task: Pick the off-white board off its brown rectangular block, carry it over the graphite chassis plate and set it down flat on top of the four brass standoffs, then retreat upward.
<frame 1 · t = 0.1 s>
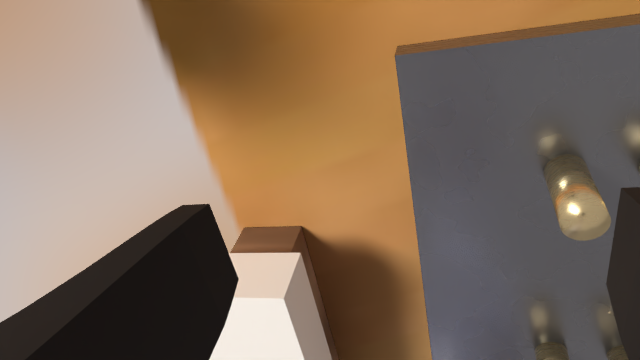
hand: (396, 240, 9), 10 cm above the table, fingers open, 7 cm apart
brown rectangular block: (299, 312, 26), on the table
chassis plate: (591, 256, 20), on the table
board: (284, 358, 23), point 3 cm above the table, touching brown rectangular block
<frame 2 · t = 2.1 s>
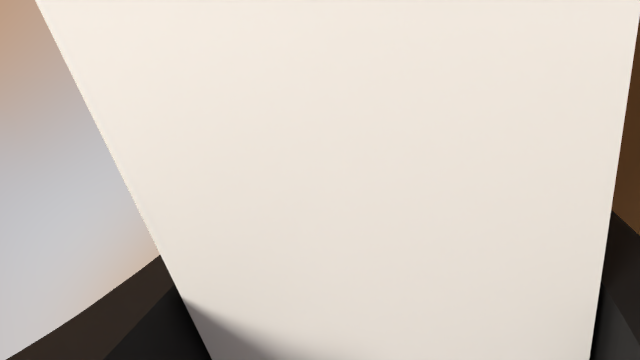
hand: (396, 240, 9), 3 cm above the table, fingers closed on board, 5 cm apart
board: (394, 251, 8), point 3 cm above the table, touching brown rectangular block, gripper
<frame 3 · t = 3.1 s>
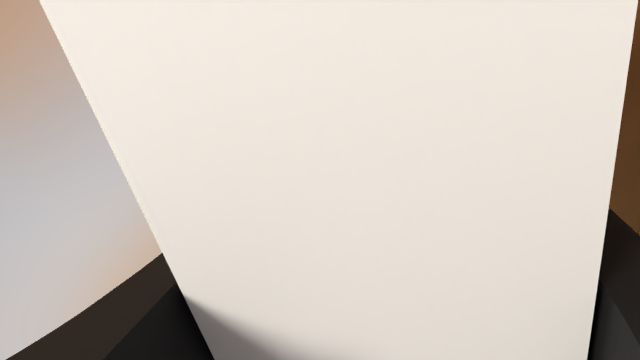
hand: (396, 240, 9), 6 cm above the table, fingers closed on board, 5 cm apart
board: (394, 248, 8), point 6 cm above the table, touching gripper
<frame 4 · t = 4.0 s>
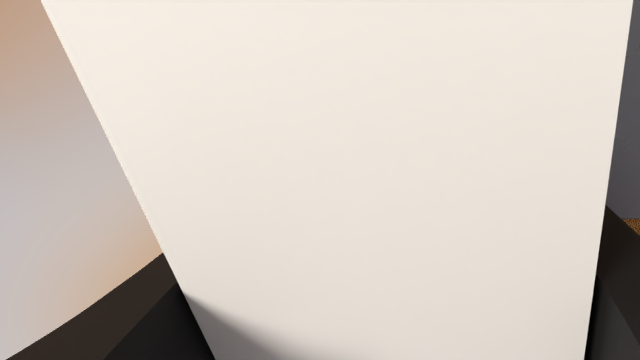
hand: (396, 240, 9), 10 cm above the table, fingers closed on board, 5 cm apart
board: (393, 246, 8), point 10 cm above the table, touching gripper
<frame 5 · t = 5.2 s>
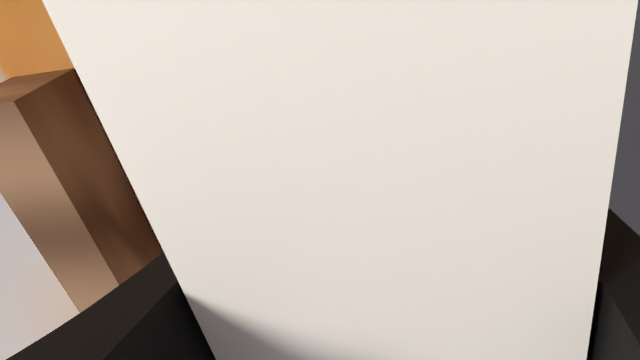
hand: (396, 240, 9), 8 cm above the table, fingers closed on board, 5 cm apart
brown rectangular block: (108, 200, 21), on the table
chassis plate: (416, 82, 15), on the table
board: (393, 243, 8), point 8 cm above the table, touching gripper
when the fingers open (5 cm above the table, at t = 6.2 s): board stays where it is, resting on chassis plate.
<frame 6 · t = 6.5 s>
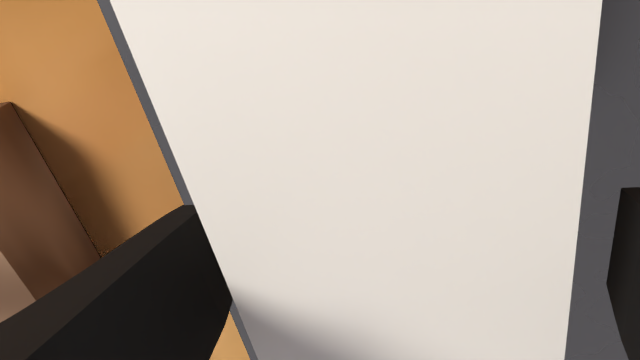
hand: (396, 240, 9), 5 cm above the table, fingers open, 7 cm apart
brown rectangular block: (62, 245, 19), on the table
chassis plate: (411, 125, 12), on the table
board: (398, 212, 9), point 4 cm above the table, touching chassis plate
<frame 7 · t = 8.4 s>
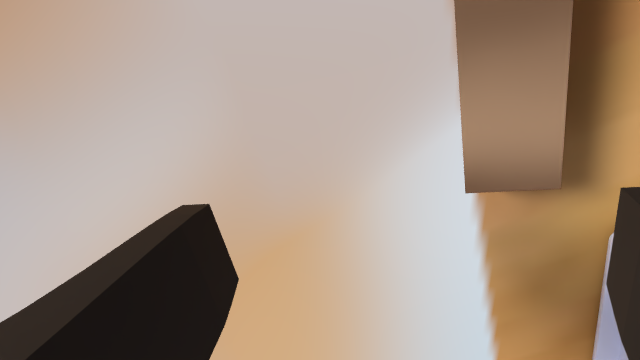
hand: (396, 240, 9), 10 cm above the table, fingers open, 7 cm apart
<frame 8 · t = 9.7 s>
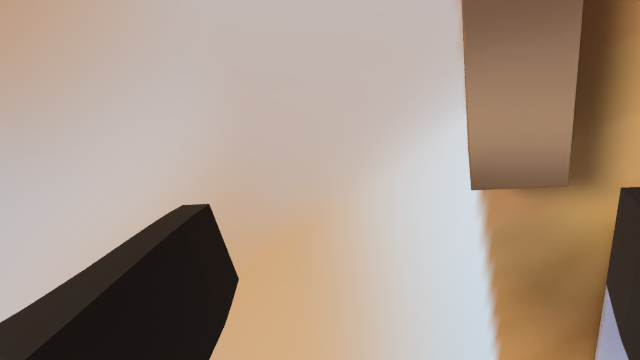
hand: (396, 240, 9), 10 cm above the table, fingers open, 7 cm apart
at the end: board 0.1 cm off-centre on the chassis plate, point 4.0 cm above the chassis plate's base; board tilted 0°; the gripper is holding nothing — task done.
